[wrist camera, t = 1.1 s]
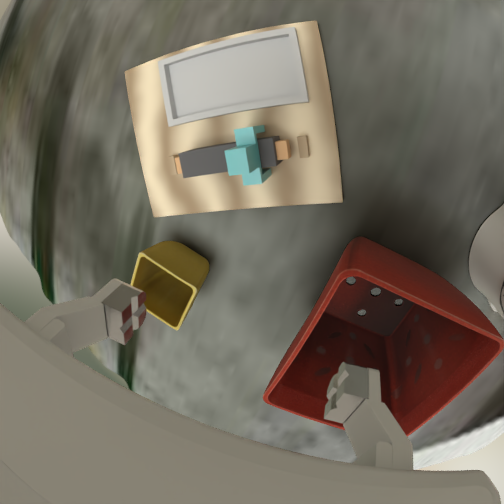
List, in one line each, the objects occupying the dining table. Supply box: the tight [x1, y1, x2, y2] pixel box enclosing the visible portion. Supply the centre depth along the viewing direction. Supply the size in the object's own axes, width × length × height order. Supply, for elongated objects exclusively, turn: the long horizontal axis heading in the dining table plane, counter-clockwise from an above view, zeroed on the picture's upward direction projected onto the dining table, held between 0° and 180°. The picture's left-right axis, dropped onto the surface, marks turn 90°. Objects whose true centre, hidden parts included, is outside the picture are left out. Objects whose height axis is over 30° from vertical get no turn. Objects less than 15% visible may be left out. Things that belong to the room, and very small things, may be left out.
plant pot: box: [263, 237, 504, 436], centre depth 32 cm, size 19×19×17 cm
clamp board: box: [125, 21, 343, 217], centre depth 34 cm, size 26×22×3 cm
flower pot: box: [131, 241, 209, 330], centre depth 42 cm, size 9×9×9 cm
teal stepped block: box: [225, 125, 272, 186], centre depth 30 cm, size 2×6×8 cm, turn 10°
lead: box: [175, 136, 291, 178], centre depth 33 cm, size 13×3×4 cm, turn 100°
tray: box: [158, 27, 309, 127], centre depth 30 cm, size 17×9×2 cm, turn 100°
